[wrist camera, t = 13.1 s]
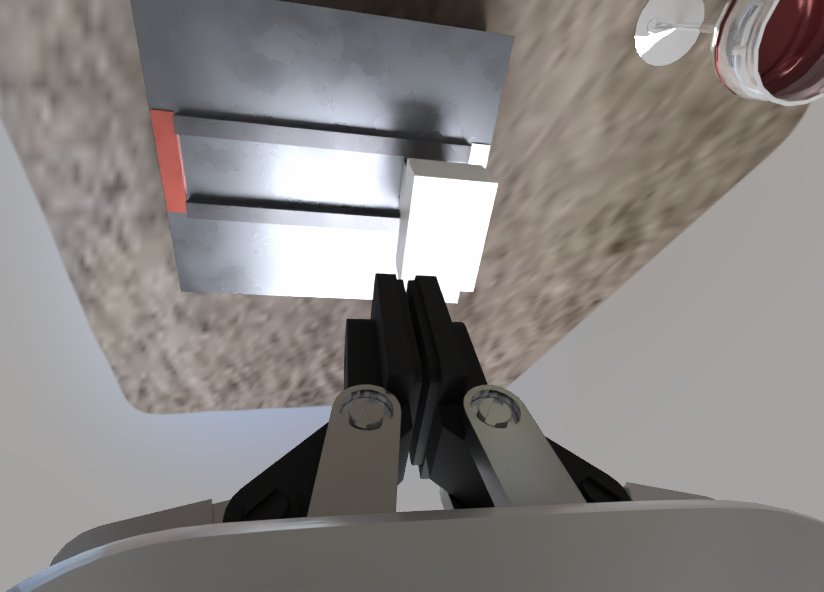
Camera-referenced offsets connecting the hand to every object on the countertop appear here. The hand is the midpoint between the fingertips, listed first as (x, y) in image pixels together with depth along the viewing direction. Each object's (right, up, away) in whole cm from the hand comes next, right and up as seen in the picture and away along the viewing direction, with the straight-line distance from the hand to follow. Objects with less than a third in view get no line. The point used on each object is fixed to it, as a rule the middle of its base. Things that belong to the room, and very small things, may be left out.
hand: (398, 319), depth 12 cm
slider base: (-6, +11, +20) cm, 24 cm away
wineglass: (+18, +20, +19) cm, 33 cm away
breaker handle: (+1, +8, +16) cm, 18 cm away
